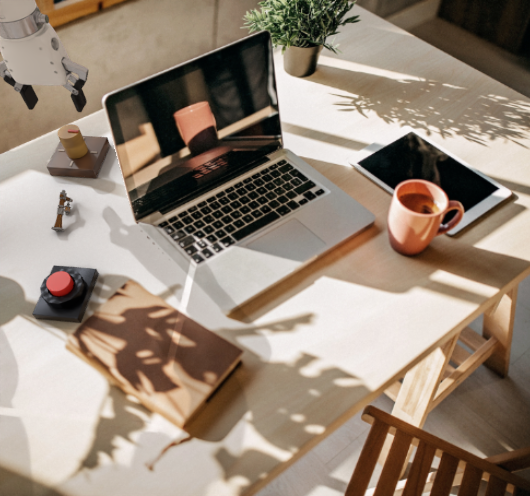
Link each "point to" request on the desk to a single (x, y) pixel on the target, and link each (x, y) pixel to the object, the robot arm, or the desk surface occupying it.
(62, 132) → the dimmer knob
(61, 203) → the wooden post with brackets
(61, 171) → the dimmer console
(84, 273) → the switch box
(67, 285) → the light button
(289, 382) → the desk surface
